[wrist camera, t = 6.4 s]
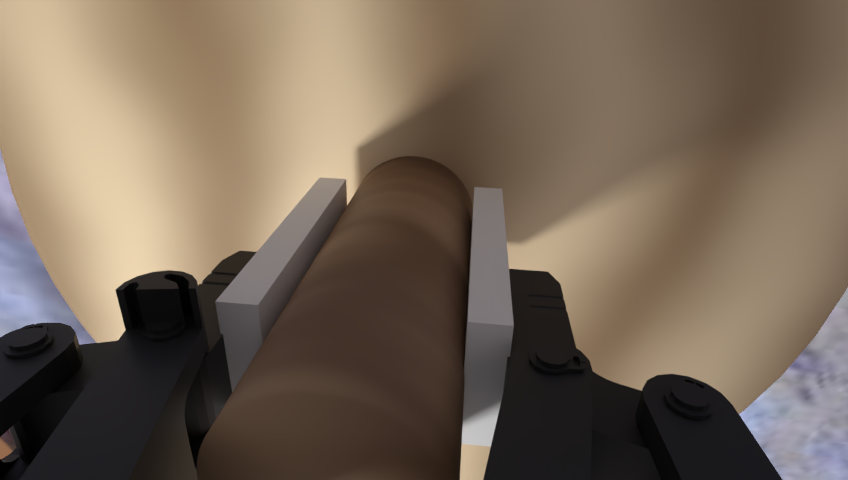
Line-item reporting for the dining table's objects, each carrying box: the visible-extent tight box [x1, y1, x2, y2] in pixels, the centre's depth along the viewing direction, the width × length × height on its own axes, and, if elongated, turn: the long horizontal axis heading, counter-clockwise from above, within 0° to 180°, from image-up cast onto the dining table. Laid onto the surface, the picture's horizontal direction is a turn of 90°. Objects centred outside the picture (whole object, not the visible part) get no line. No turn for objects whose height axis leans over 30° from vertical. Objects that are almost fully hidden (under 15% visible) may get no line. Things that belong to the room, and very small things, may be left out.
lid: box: [0, 0, 848, 480], centre depth 12 cm, size 26×26×11 cm
